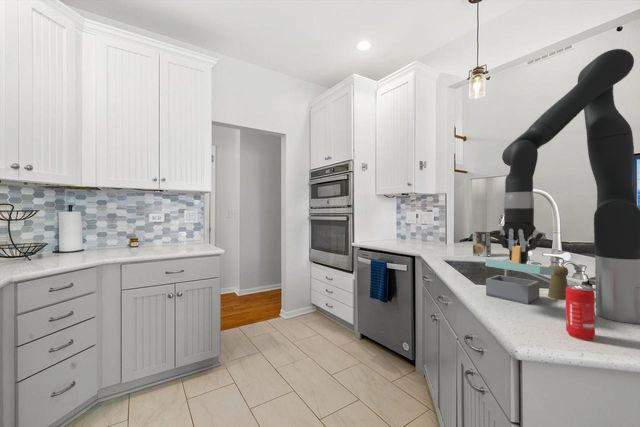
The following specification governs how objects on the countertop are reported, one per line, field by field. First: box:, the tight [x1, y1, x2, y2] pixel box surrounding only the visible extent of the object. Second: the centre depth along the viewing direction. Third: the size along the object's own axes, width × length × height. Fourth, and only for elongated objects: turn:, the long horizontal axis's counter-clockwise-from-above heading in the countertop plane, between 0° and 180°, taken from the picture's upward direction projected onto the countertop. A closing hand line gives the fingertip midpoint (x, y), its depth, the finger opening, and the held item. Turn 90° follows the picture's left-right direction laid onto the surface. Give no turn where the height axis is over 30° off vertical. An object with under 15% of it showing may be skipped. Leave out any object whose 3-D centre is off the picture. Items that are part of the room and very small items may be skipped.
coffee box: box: [472, 231, 492, 257], centre depth 190 cm, size 9×6×16 cm
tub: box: [485, 274, 540, 305], centre depth 100 cm, size 13×10×6 cm
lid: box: [484, 245, 554, 276], centre depth 88 cm, size 14×11×7 cm
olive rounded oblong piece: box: [547, 265, 569, 301], centre depth 99 cm, size 6×6×11 cm
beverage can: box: [565, 284, 596, 341], centre depth 69 cm, size 5×5×12 cm
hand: (518, 262), depth 87 cm, fingers closed on lid
